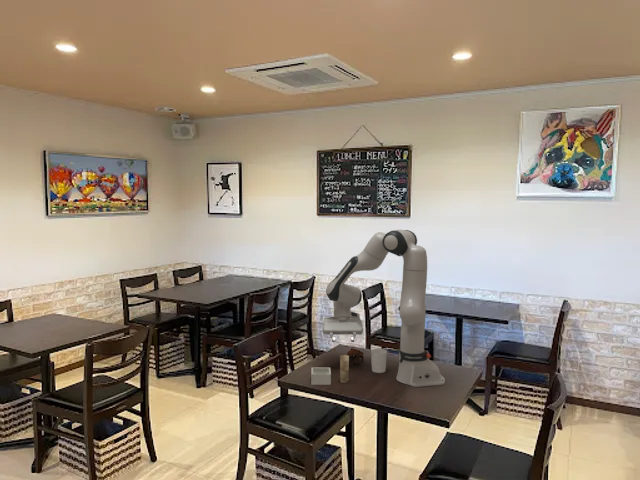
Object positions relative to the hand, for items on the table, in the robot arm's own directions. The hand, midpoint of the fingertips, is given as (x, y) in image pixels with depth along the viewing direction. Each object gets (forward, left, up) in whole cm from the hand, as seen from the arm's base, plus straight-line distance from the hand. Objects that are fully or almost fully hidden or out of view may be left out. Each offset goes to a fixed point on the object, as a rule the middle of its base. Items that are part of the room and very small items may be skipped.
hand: (343, 341), depth 233 cm
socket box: (+11, +11, -16) cm, 22 cm away
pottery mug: (-7, -15, -16) cm, 23 cm away
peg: (0, +11, -16) cm, 19 cm away
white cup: (-18, -3, -16) cm, 24 cm away
